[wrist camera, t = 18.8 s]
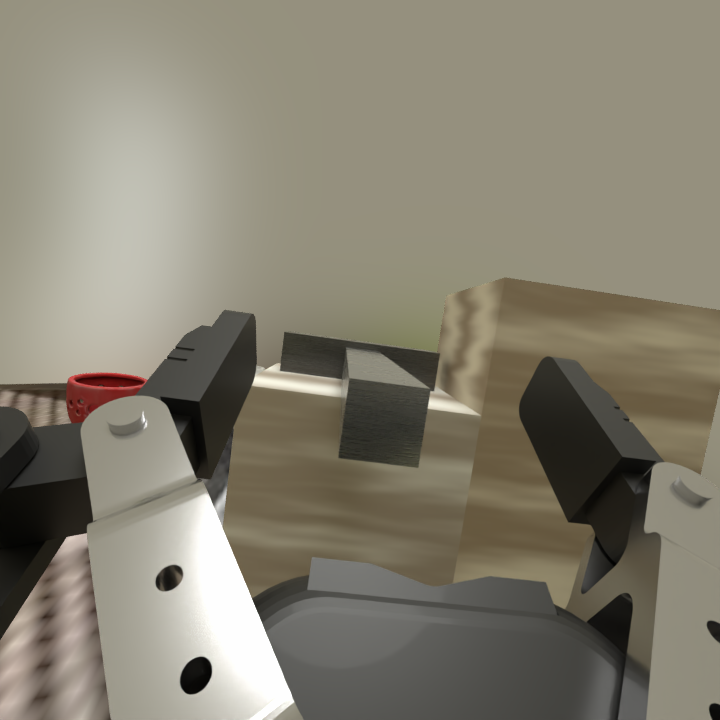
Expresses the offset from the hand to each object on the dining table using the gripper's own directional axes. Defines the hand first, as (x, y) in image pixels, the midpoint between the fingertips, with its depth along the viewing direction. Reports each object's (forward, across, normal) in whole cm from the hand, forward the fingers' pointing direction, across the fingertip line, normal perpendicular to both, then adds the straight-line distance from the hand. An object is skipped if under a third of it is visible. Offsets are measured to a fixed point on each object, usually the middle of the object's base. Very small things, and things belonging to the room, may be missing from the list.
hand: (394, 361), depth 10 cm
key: (+8, 0, +8) cm, 11 cm away
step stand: (+1, -7, +32) cm, 33 cm away
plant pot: (+40, +45, +55) cm, 81 cm away
